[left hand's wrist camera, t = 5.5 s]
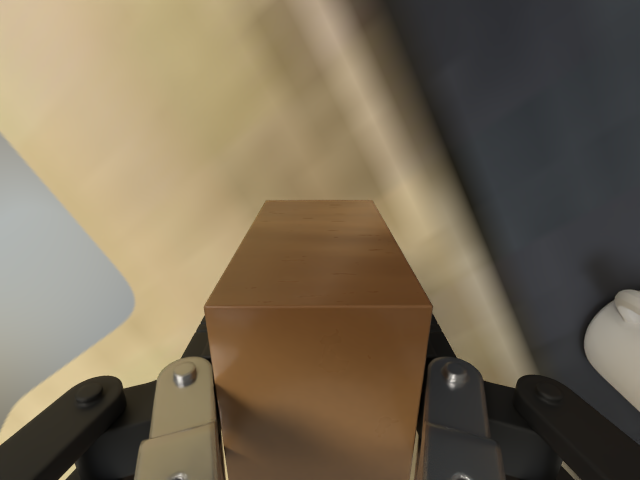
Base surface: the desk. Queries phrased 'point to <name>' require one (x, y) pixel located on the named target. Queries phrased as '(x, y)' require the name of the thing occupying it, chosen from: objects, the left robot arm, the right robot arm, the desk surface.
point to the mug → (617, 344)
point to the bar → (318, 346)
